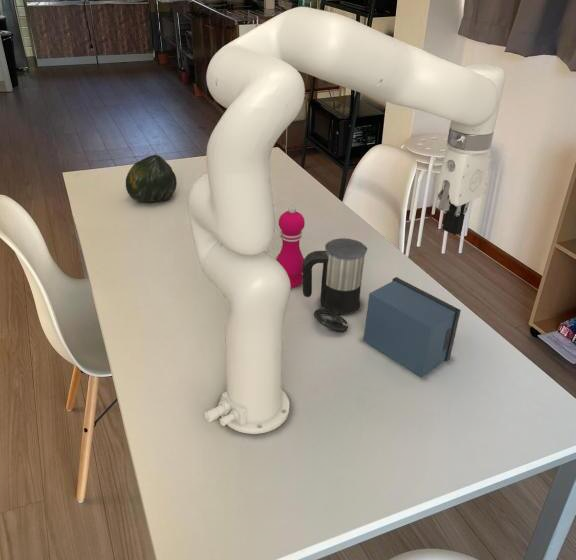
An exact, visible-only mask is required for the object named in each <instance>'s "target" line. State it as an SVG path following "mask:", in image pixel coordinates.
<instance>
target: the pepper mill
mask: <svg viewBox="0 0 576 560" xmlns="http://www.w3.org/2000/svg"><path fill="white" fill-rule="evenodd" d="M305 221H306V220H305V217H304V216H303V214H302V213H301V212H298V211H297V208H296V206H294V205H290V206H289V207H288V209H287V211H284V212H283V213H282V214H281V215H280V216H279V218H278V227H279V229H280V239H281V241H282V242H281V243H282V244H281V245H282V246H281V249H280V251H279V253H278V255H277V256H276V258H275V259H276V260H277V261H278V262H279V263H280V264H281V266H282V267H283V268H284V269H285V271H286V273H287V274H288V277H289V279H290V285H291V289H293V288H297V287H299V286H301V285H302V284H303V268H302V266H303V260H304V258H305V257H304V255H303V254H302V251H301V248H300V241H301V240H302V238H303V230H304V228H305V226H306V225H305V224H306V223H305Z"/></svg>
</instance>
